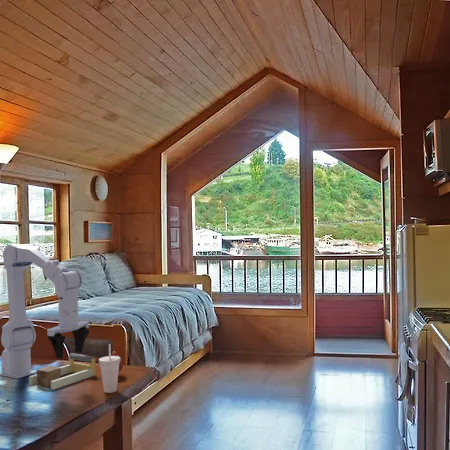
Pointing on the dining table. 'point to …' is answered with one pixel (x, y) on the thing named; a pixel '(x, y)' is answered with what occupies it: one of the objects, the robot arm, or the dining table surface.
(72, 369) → the cream u-shaped frame
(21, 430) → the dining table surface
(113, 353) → the onion
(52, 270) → the robot arm
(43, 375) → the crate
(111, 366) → the smoothie
